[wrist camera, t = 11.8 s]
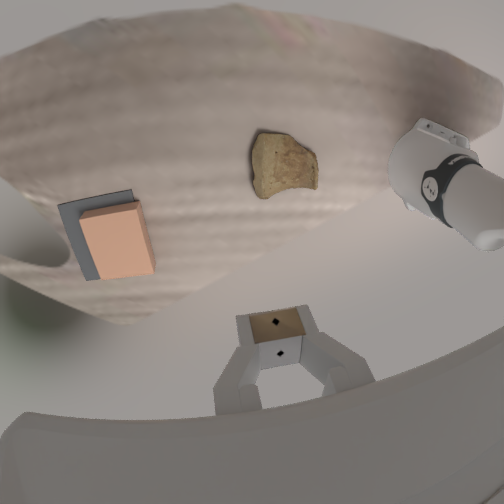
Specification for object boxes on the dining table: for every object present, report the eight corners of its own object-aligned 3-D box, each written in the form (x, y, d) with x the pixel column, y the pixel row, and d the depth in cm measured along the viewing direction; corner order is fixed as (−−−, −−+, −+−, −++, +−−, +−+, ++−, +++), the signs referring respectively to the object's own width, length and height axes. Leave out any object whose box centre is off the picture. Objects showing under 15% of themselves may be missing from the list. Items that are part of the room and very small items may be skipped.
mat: (131, 189, 43) (131, 190, 43) (153, 271, 52) (153, 272, 52) (57, 205, 42) (57, 205, 41) (86, 279, 51) (86, 280, 50)
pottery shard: (255, 195, 48) (316, 195, 47) (253, 205, 45) (319, 205, 44) (252, 131, 43) (317, 130, 42) (249, 135, 39) (321, 134, 38)
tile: (136, 209, 41) (78, 219, 40) (154, 273, 48) (101, 280, 47) (140, 200, 44) (85, 210, 43) (156, 262, 51) (105, 269, 50)
